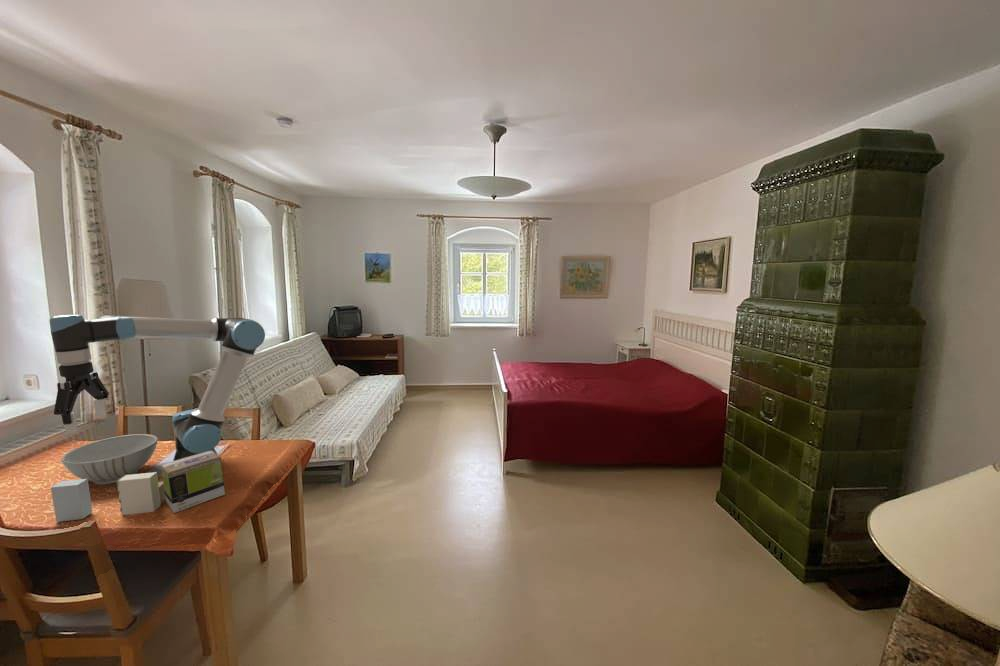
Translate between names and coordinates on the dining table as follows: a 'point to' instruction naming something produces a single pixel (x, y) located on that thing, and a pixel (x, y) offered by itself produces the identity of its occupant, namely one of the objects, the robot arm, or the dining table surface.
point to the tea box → (192, 480)
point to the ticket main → (140, 493)
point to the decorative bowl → (110, 457)
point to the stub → (71, 500)
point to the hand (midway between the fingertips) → (87, 425)
